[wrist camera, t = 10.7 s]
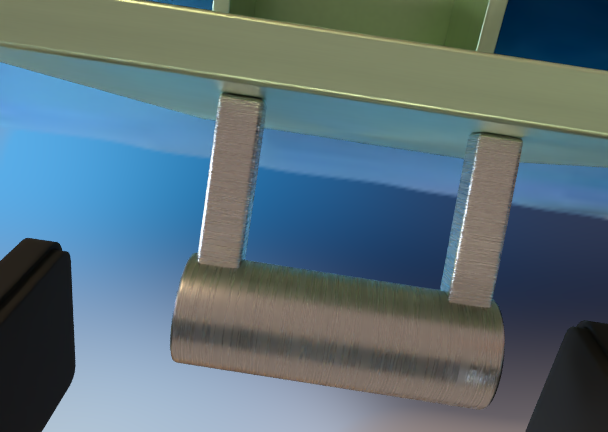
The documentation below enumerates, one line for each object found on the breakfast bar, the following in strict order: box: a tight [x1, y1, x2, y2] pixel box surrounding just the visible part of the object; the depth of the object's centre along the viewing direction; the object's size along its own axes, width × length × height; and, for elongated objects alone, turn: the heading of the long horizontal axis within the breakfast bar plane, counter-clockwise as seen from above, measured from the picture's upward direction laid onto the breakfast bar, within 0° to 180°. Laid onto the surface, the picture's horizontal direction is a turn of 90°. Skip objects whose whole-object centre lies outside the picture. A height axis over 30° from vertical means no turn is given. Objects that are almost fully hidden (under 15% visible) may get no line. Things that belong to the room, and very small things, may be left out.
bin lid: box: [0, 0, 608, 410], centre depth 17 cm, size 20×13×5 cm
